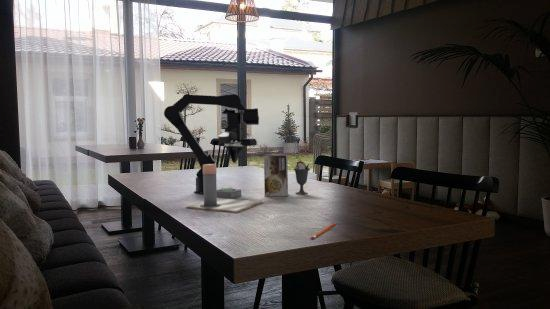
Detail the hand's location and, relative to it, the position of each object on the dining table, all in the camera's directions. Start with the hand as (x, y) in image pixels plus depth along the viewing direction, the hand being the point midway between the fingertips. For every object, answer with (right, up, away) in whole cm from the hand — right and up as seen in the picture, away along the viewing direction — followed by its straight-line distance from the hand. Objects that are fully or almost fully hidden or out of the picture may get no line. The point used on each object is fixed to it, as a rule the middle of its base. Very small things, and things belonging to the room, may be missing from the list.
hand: (234, 162), depth 186 cm
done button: (-2, -12, -11) cm, 16 cm away
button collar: (-2, -13, -11) cm, 17 cm away
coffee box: (+17, -13, -8) cm, 23 cm away
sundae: (+28, -13, -5) cm, 31 cm away
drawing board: (0, -14, -29) cm, 32 cm away
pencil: (+30, -18, -65) cm, 74 cm away
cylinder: (-5, -14, -32) cm, 36 cm away
